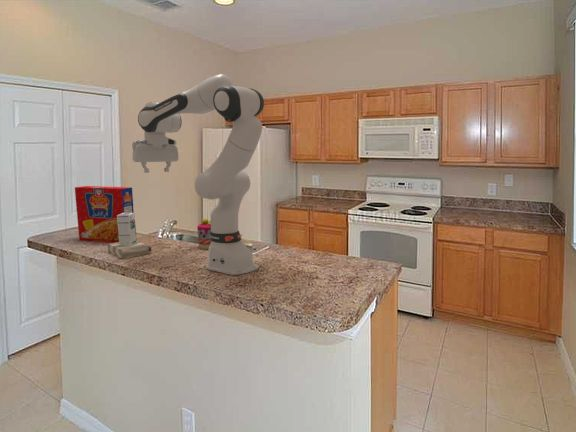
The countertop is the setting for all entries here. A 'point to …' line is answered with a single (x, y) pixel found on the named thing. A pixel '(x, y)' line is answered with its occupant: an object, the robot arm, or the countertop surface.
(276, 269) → the countertop surface
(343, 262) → the countertop surface
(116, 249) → the dock
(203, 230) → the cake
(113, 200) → the pasta box
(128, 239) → the syrup box
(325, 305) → the countertop surface
